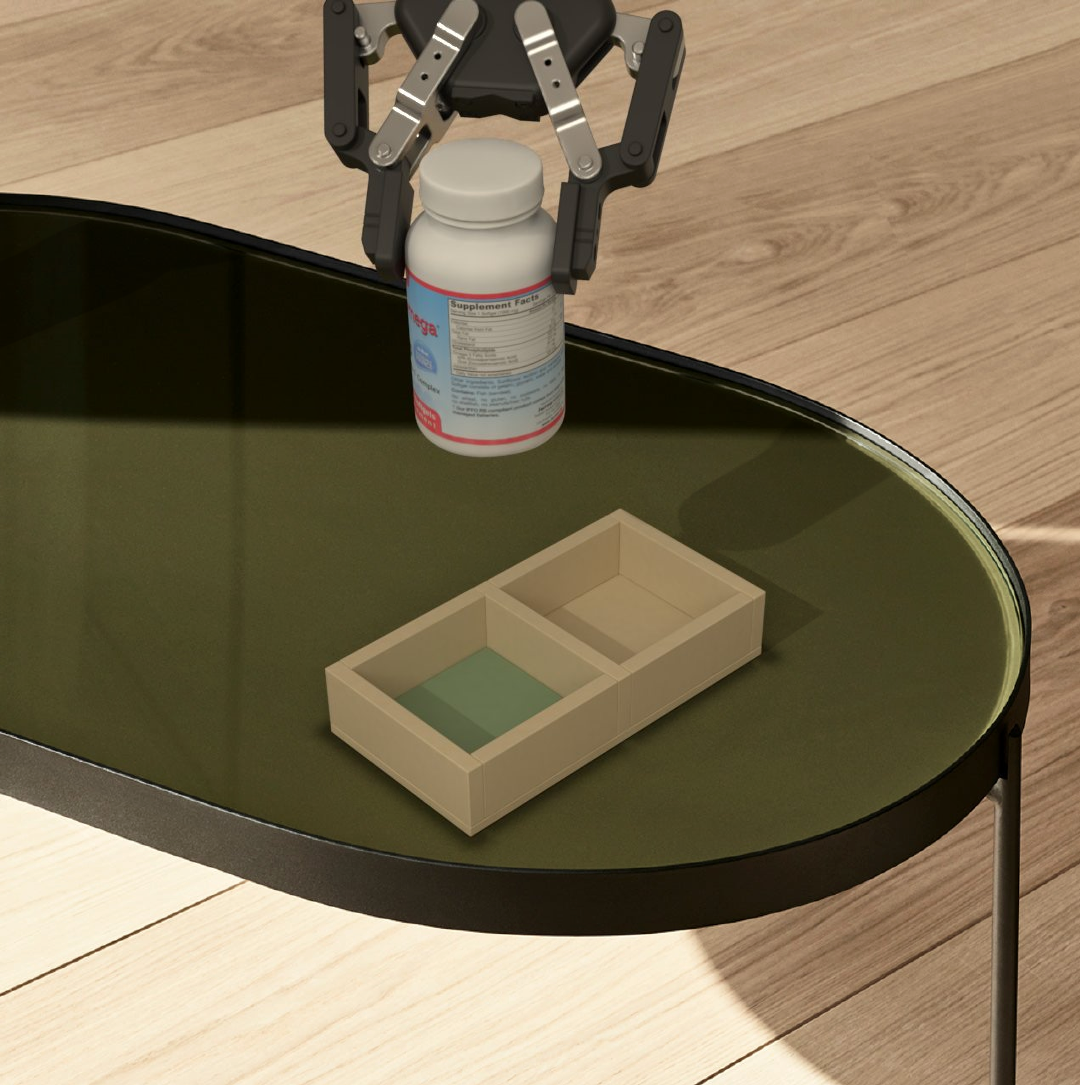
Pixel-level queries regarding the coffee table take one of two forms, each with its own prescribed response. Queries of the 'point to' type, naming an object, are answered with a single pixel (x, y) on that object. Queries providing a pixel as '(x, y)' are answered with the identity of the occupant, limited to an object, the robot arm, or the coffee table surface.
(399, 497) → the coffee table surface
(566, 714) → the holder
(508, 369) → the pill bottle
